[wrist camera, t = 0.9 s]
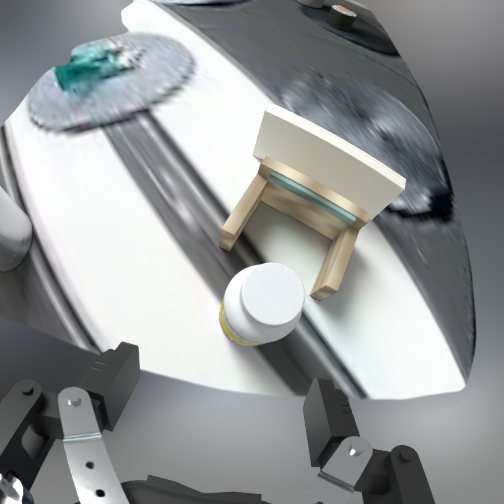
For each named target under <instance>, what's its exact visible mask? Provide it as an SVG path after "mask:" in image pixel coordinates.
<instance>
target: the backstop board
mask: <svg viewBox="0 0 504 504" xmlns="http://www.w3.org/2000/svg"><path fill="white" fill-rule="evenodd" d="M266 155H267V156H269V157H271V158H273V159H275V160H277V161H279V162H281V163H283V164H285V165H287V166H289V167H290V168H292V169H294V170H296V171H298V172H300V173H302V174H304V175H305V176H307V177H309V178H311V179H313V180H314V181H316V182H318V183H320V184H322V185H323V186H325V187H327V188H329V189H330V190H332V191H334V192H336V193H337V194H339V195H341V196H342V197H344V198H346V199H347V200H349V201H351V202H352V203H354V204H356V205H357V206H359V207H361V208H362V209H364V210H365V211H367V212H369V213H370V216H369V220H370V221H371V220H372V219H373V218H374V217H375V216H376V215H377V214H379V213H380V212H381V211H382V210H383V209H384V208H385V207H386V206H387V205H388V204H389V203H391V202H392V201H393V200H394V199H395V198H396V197H397V196H398V195H399V194H400V193H401V192H402V191H403V190H404V188H405V182H406V179H405V178H403V177H402V176H400V175H399V174H397V173H396V172H394V171H393V170H391V169H390V168H388V167H387V166H385V165H384V164H382V163H381V162H379V161H378V160H376V159H375V158H373V157H371V156H370V155H368V154H367V153H365V152H363V151H362V150H360V149H358V148H357V147H355V146H353V145H352V144H350V143H348V142H347V141H345V140H343V139H341V138H340V137H338V136H336V135H334V134H332V133H331V132H329V131H327V130H325V129H323V128H321V127H319V126H318V125H316V124H314V123H312V122H310V121H308V120H306V119H304V118H302V117H300V116H298V115H296V114H294V113H292V112H290V111H287V110H285V109H283V108H281V107H279V106H277V105H274V104H272V103H271V104H270V106H269V107H268V108H267V109H266V110H265V113H264V116H263V120H262V123H261V127H260V130H259V134H258V137H257V141H256V145H255V148H254V152H253V156H255V157H257V158H259V159H261V160H263V159H264V158H265V156H266Z"/></svg>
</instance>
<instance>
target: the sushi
mask: <svg viewBox="0 0 504 504" xmlns="http://www.w3.org/2000/svg"><path fill="white" fill-rule="evenodd" d="M355 17H356V14H354V13H353V12H351V11H350V10H347V9H346V8H344V7H341V6H337V5H334V6H332V8H331V11H330V13H329V16H328V18H327V21H326V22H327V23H328V24H329V25H330V26H332V27H334V28H336V29H338V30H341V31H350V28H351V26H352V24H353V22H354V20H355Z"/></svg>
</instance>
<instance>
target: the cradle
mask: <svg viewBox="0 0 504 504" xmlns="http://www.w3.org/2000/svg"><path fill="white" fill-rule="evenodd" d="M260 201H262V202H264V203H266V204H268V205H270V206H272V207H274V208H275V209H277V210H279V211H281V212H283V213H285V214H286V215H288V216H290V217H292V218H294V219H296V220H297V221H299V222H301V223H303V224H305V225H306V226H308V227H310V228H312V229H314V230H315V231H317V232H319V233H321V234H322V235H324V236H326V237H328V238H329V239H331V240H332V243H331V245H330V248H329V250H328V253H327V255H326V258H325V260H324V263H323V265H322V267H321V270H320V272H319V275H318V277H317V279H316V282H315V284H314V286H313V289H312V291H311V293H310V296H312V297H314V298H316V299H318V300H319V301H321V300H322V299H324V298H326V297H328V296H330V295H332V294H334V293H335V292H337V291H338V289H339V287H340V284H341V281H342V279H343V276H344V273H345V270H346V268H347V265H348V262H349V259H350V256H351V254H352V251H353V248H354V245H355V242H356V239H357V236H358V233H359V230H360V229H361V228H362V227H363V226H365V225H366V224H367V223H368V219H369V216H370V213H369V212H367V211H365V210H364V209H362V208H361V207H359V206H357V205H356V204H354V203H352V202H351V201H349V200H347V199H346V198H344V197H342V196H341V195H339V194H337V193H336V192H334V191H332V190H330V189H329V188H327V187H325V186H323V185H322V184H320V183H318V182H316V181H314V180H313V179H311V178H309V177H307V176H305V175H304V174H302V173H300V172H298V171H296V170H294V169H292V168H290V167H289V166H287V165H285V164H283V163H281V162H279V161H277V160H275V159H273V158H271V157H269V156H267V155H266V156H265V158H264V159H263V161H262V162H261V164H260V167H259V171H258V174H257V175H256V177H255V178H254V180H253V181H252V183H251V184H250V186H249V187H248V189H247V190H246V192H245V193H244V195H243V196H242V198H241V199H240V201H239V202H238V204H237V206H236V207H235V209H234V210H233V212H232V213H231V215H230V216H229V218H228V220H227V221H226V223H225V224H224V226H223V227H222V231H221V237H220V243H219V246H220V247H221V248H223V249H225V250H227V251H229V252H230V251H231V249H232V248H233V246H234V244H235V242H236V241H237V239H238V237H239V236H240V234H241V232H242V231H243V229H244V227H245V226H246V224H247V222H248V221H249V219H250V217H251V216H252V214H253V212H254V211H255V209H256V207H257V206H258V204H259V202H260Z"/></svg>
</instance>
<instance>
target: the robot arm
mask: <svg viewBox="0 0 504 504" xmlns="http://www.w3.org/2000/svg"><path fill="white" fill-rule="evenodd" d="M32 232H33V230H32V224H31V221H30V219H29V217H28V216H27V215H26V214H25V213H24V212H23V211H22V210H21V209H20V208H19V206H18V205H17V204H16V203H15V202H14V201H13V200H12V199H11V198H10V196H9V195H8V194H7V193H6V192H5V191H4V190H3V188H2V187H1V186H0V271H2V272H5V271H10V270H12V269H14V268H15V267H17V266H18V265H19V264H20V263H21V262H22V260H23V259H24V257H25V256H26V254H27V252H28V250H29V247H30V244H31V240H32ZM139 375H140V365H139V348H138V346H137V345H133V344H130V343H126V342H121V343H120V344H119V346H118V347H117V348H116V350H113V349H109V350H107V351H105V352H103V353H102V354H101V355H100V356H99V357H98V359H97V360H96V362H95V363H94V364H93V365H92V368H90V369H89V370H88V372H87V373H86V374H85V376H84V377H83V378H82V380H81V381H80V383H79V384H78V385H77V386H76V387H70V388H66V389H64V390H63V391H61V392H60V393H52V392H46V391H42V389H41V386H40V385H39V383H38V382H36V381H34V380H32V379H23V380H20V381H18V382H17V383H16V384H15V385H14V386H13V388H12V389H11V390H10V391H9V393H8V394H7V395H6V397H4V399H3V400H2V401H1V403H0V504H34V499H33V497H32V495H31V493H30V492H29V491H30V489H31V487H32V485H33V483H34V480H35V478H36V476H37V474H38V472H39V470H40V468H41V466H42V464H43V462H44V460H45V458H46V456H47V454H48V452H49V450H50V449H51V447H52V445H53V443H54V441H55V439H62V440H63V444H64V448H65V452H66V456H67V460H68V464H69V468H70V471H71V475H72V478H73V481H74V484H75V487H76V490H77V493H78V496H79V499H80V502H77V503H75V504H270V503H268V502H265V501H261V494H252V493H240V492H222V493H201V492H199V491H196V490H194V489H191V488H189V487H187V486H184V485H182V484H180V483H178V482H175V481H171V480H167V479H163V478H159V477H156V476H152V475H148V478H147V481H145V480H135V481H128V482H123V483H120V482H119V480H118V478H117V476H116V473H115V471H114V468H113V466H112V463H111V461H110V458H109V456H108V453H107V450H106V448H105V445H104V442H103V439H102V436H101V434H102V432H103V430H104V429H106V430H109V431H113V429H114V427H115V425H116V423H117V421H118V419H119V417H120V415H121V413H122V411H123V409H124V407H125V405H126V403H127V401H128V399H129V398H130V396H131V394H132V392H133V390H134V388H135V386H136V384H137V382H138V379H139ZM303 413H304V420H305V426H306V433H307V439H308V446H309V453H310V460H311V467H320V469H321V471H320V473H319V474H318V475H317V476H316V478H315V479H314V480H313V481H312V483H311V484H310V485H309V486H308V487H307V489H306V490H305V491H304V492H303V493H302V495H301V496H300V497H299V498H298V499H297V500H296V502H295V503H294V504H346V503H347V501H348V500H349V498H350V497H351V495H352V494H353V492H354V491H359V492H362V496H363V502H364V504H435V502H434V499H433V496H432V493H431V490H430V487H429V484H428V481H427V478H426V475H425V473H424V470H423V467H422V464H421V462H420V459H419V456H418V454H417V452H416V451H415V450H414V449H412V448H411V447H409V446H406V445H400V446H396V447H395V448H393V449H392V451H391V452H388V451H382V450H376V449H373V448H372V446H371V445H370V443H369V442H368V441H367V440H365V439H363V438H361V437H360V435H359V432H358V428H357V425H356V422H355V419H354V416H353V414H352V410H351V408H350V405H349V401H348V398H347V396H346V395H345V394H344V393H343V392H342V391H341V390H339V389H335V387H334V384H333V381H332V379H331V378H318V377H315V378H314V380H313V382H312V384H311V387H310V389H309V392H308V394H307V396H306V399H305V402H304V407H303Z"/></svg>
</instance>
